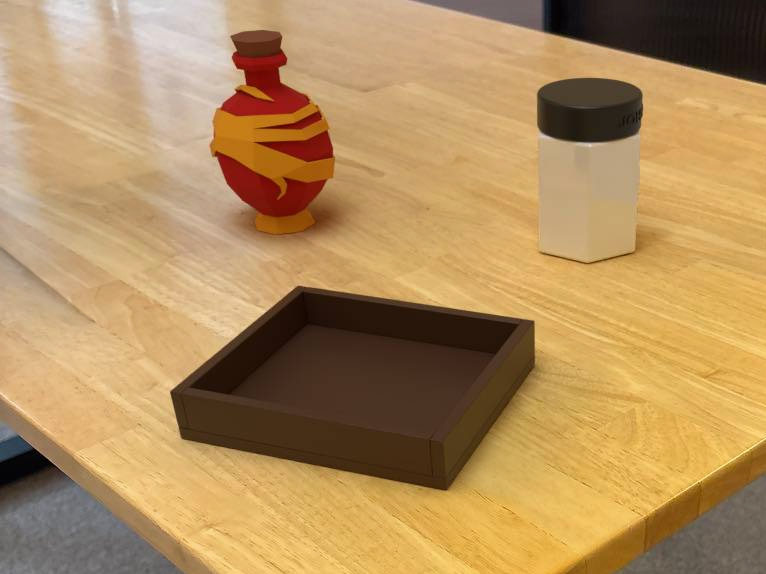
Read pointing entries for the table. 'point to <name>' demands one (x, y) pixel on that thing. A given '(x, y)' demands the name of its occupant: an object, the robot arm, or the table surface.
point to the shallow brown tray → (360, 384)
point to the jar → (588, 167)
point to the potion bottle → (271, 138)
